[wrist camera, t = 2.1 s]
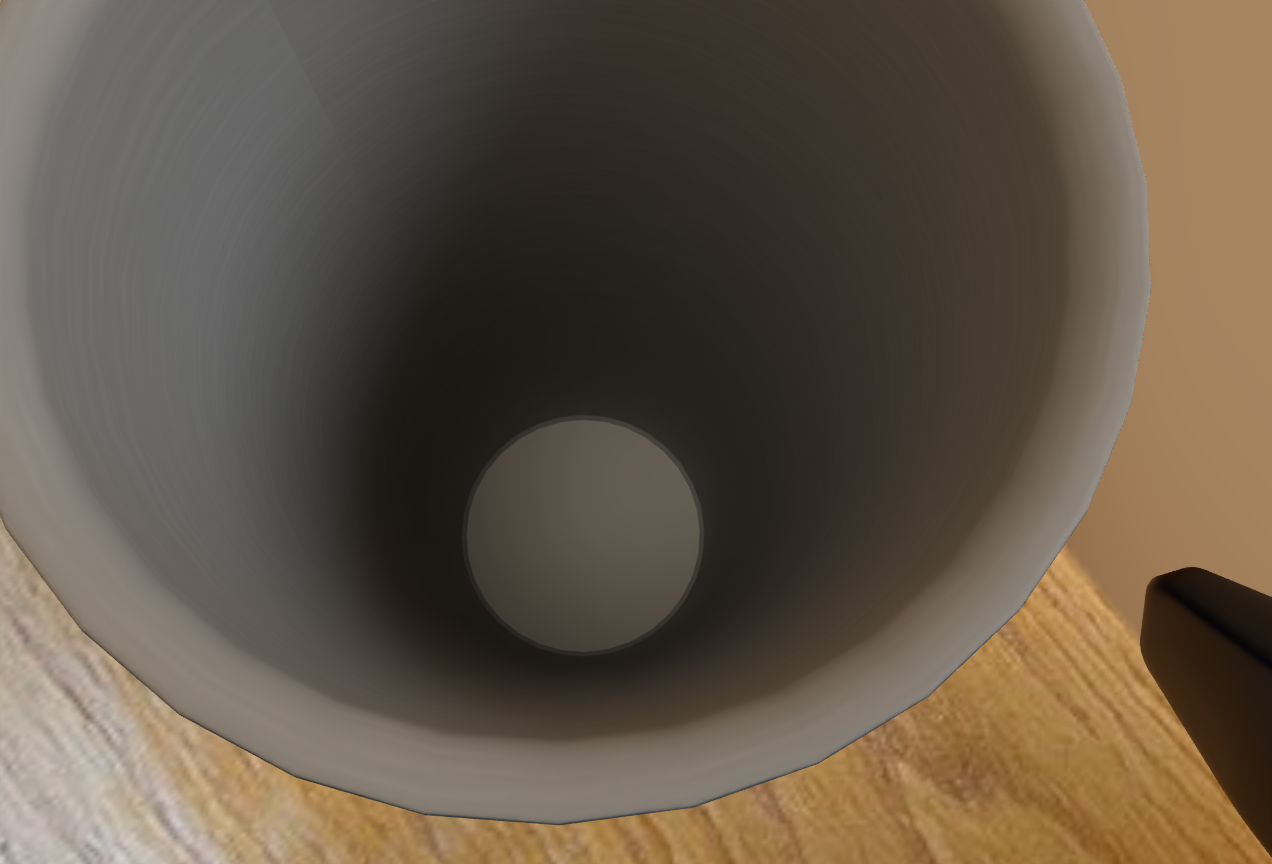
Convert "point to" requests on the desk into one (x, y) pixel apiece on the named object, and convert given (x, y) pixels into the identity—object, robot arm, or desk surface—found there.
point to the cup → (557, 369)
